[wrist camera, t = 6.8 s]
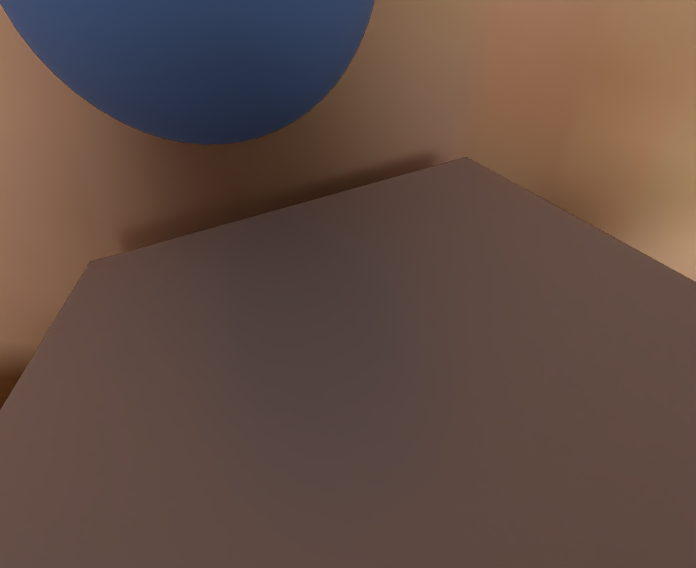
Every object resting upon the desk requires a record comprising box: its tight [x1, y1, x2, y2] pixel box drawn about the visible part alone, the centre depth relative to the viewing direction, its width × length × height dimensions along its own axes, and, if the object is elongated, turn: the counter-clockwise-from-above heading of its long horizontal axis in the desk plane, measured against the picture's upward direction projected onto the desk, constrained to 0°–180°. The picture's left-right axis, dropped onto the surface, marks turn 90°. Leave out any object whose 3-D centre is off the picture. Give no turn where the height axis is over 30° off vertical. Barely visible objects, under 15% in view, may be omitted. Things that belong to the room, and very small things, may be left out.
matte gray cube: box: [0, 157, 696, 568], centre depth 7 cm, size 8×8×9 cm
